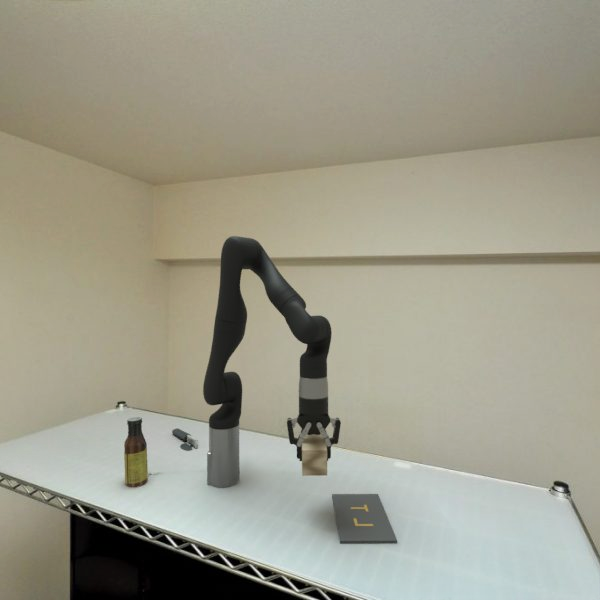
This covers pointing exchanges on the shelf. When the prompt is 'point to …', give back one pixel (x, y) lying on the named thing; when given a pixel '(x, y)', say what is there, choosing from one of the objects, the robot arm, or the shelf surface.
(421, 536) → the shelf surface
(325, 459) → the maple block
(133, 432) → the sauce bottle
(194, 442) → the can opener
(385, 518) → the picture tile
